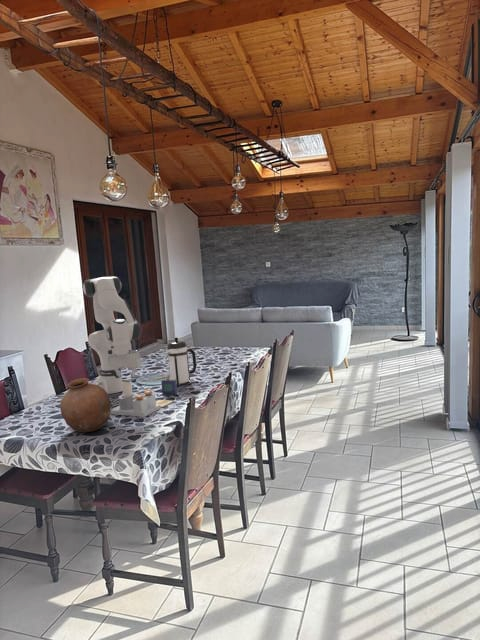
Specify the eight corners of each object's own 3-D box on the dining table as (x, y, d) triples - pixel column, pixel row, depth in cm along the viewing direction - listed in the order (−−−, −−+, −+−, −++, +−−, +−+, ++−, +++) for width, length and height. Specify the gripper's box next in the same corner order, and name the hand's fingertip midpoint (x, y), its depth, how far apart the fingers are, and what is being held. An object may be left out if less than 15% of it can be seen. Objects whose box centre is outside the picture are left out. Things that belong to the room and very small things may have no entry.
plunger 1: (134, 409, 246) (133, 396, 245) (139, 406, 249) (138, 394, 249) (141, 410, 244) (140, 397, 243) (146, 407, 248) (145, 394, 247)
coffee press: (189, 387, 292) (185, 339, 288) (165, 387, 296) (160, 340, 291) (197, 379, 309) (193, 334, 305) (174, 379, 312) (170, 335, 308)
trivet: (147, 406, 259) (147, 405, 259) (158, 400, 268) (158, 399, 268) (162, 407, 255) (162, 406, 255) (173, 401, 264) (172, 400, 264)
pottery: (117, 419, 242) (111, 371, 238) (106, 436, 219) (100, 384, 215) (72, 423, 241) (66, 375, 238) (56, 440, 218) (49, 388, 215)
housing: (110, 413, 252) (108, 399, 251) (127, 405, 264) (125, 391, 263) (144, 417, 242) (143, 401, 241) (160, 408, 255) (158, 393, 254)
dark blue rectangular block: (178, 393, 279) (176, 376, 278) (176, 395, 277) (174, 377, 275) (163, 394, 282) (161, 376, 280) (161, 395, 279) (159, 377, 277)
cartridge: (122, 408, 253) (119, 380, 251) (128, 405, 258) (125, 378, 256) (130, 408, 251) (126, 381, 249) (135, 405, 256) (132, 378, 254)
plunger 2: (143, 405, 252) (142, 392, 251) (148, 402, 256) (147, 390, 255) (150, 405, 250) (148, 393, 250) (155, 403, 254) (153, 390, 253)
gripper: (142, 348, 249) (145, 374, 250) (111, 348, 257) (114, 373, 259) (135, 351, 243) (138, 377, 245) (103, 351, 252) (107, 376, 254)
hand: (125, 375), depth 252 cm, fingers open, 8 cm apart
